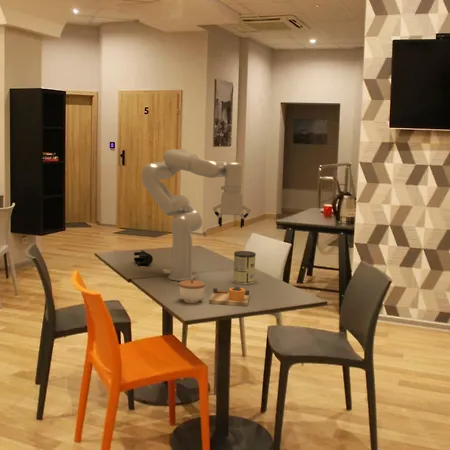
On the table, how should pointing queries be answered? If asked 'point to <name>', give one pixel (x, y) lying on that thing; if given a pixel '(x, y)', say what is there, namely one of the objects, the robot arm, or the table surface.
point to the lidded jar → (191, 290)
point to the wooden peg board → (223, 298)
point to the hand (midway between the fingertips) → (231, 226)
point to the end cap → (143, 258)
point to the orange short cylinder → (236, 294)
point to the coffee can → (244, 267)
